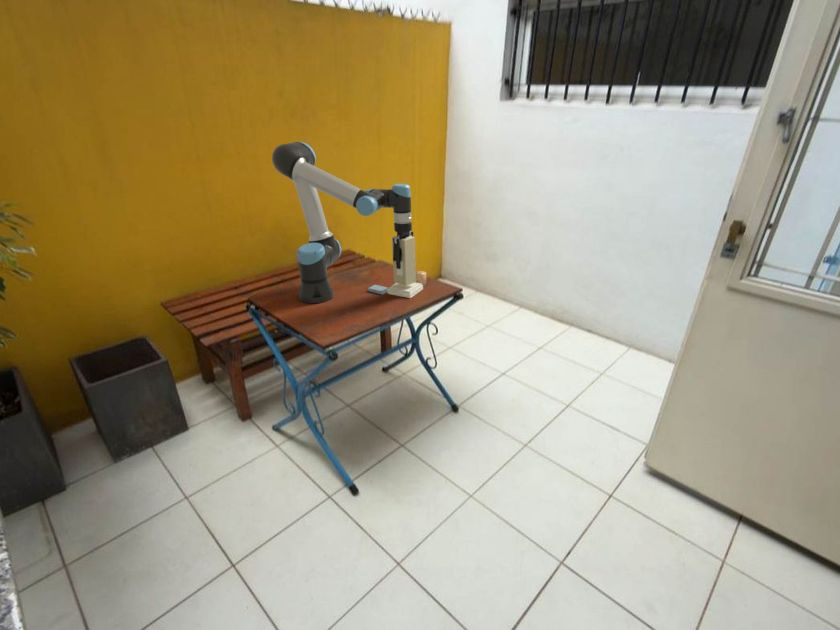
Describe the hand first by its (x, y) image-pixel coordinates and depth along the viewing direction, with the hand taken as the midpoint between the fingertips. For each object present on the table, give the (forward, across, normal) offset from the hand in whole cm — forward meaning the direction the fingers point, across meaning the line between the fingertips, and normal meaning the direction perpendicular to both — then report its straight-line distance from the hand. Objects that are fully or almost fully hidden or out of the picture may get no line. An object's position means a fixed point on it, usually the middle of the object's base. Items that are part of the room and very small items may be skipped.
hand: (404, 271), depth 194 cm
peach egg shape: (+10, +10, -2) cm, 14 cm away
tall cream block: (+5, 0, 0) cm, 5 cm away
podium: (+9, 0, 0) cm, 9 cm away
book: (+10, -5, +12) cm, 16 cm away
